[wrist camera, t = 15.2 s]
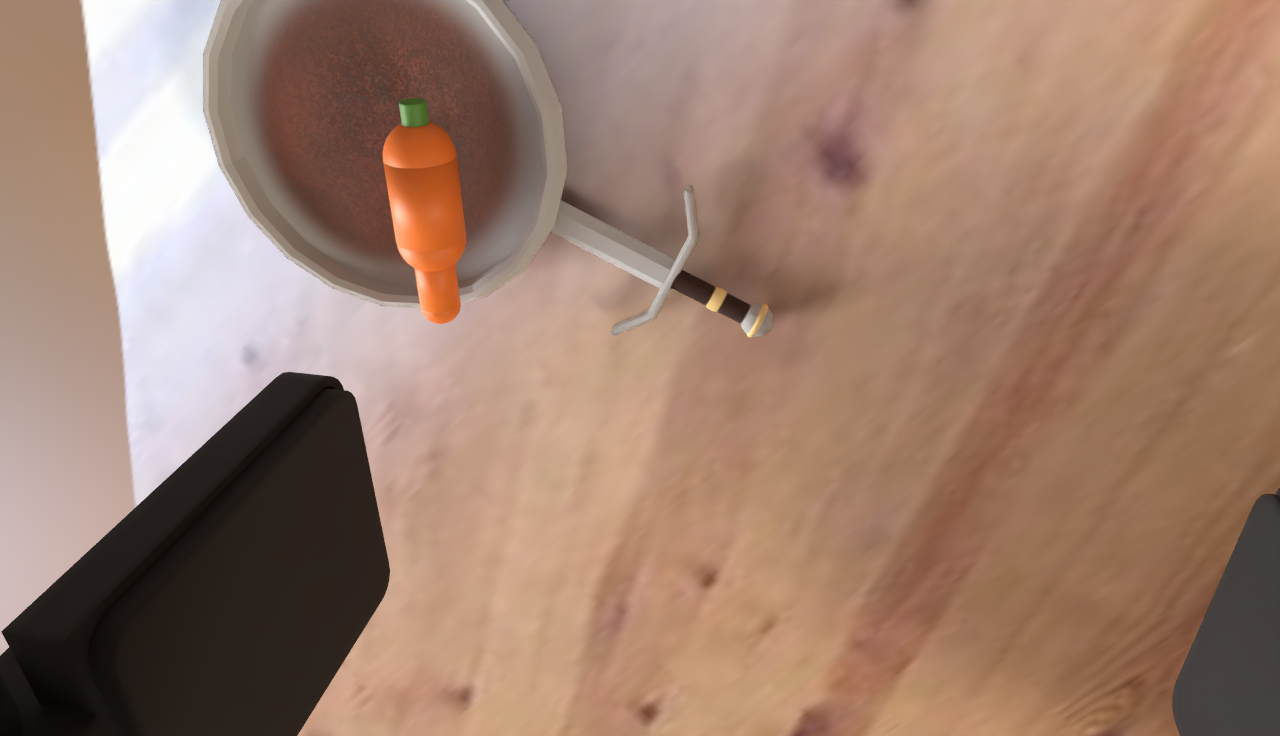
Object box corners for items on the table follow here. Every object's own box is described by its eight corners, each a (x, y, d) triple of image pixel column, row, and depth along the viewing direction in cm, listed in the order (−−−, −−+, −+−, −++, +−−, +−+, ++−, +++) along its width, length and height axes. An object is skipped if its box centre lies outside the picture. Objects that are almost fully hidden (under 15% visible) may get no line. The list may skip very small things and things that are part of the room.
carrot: (455, 91, 37) (383, 92, 37) (443, 110, 34) (365, 111, 34) (480, 306, 42) (416, 307, 42) (470, 336, 40) (403, 337, 40)
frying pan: (686, 471, 45) (166, 216, 43) (694, 437, 47) (202, 195, 45) (873, 181, 35) (221, -160, 33) (871, 158, 38) (263, -161, 36)
